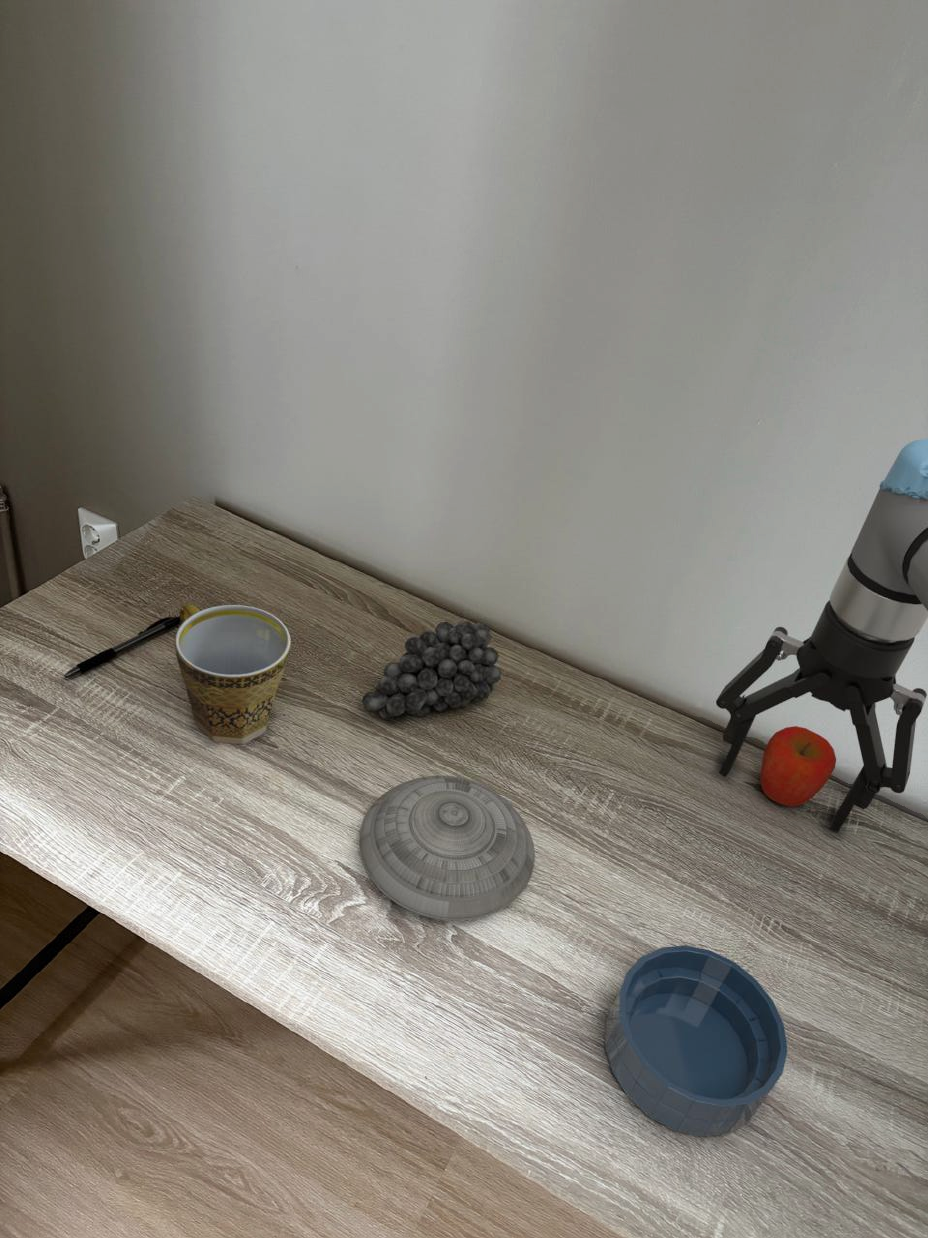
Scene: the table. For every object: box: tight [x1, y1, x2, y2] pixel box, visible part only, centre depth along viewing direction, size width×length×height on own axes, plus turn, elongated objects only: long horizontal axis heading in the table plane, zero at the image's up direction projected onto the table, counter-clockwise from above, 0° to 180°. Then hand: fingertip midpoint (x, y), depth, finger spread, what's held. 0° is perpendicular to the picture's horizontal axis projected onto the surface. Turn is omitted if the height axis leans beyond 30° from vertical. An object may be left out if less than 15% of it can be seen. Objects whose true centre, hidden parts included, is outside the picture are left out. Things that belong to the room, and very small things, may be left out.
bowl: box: [604, 944, 788, 1137], centre depth 71 cm, size 12×12×5 cm
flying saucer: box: [358, 775, 536, 922], centre depth 82 cm, size 15×15×6 cm
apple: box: [760, 725, 837, 808], centre depth 93 cm, size 6×6×8 cm
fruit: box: [361, 620, 502, 721], centre depth 96 cm, size 9×8×15 cm
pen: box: [64, 615, 182, 679], centre depth 98 cm, size 14×2×1 cm, turn 141°
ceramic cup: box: [174, 603, 292, 745], centre depth 90 cm, size 13×10×10 cm
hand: (781, 793), depth 95 cm, fingers open, 10 cm apart
